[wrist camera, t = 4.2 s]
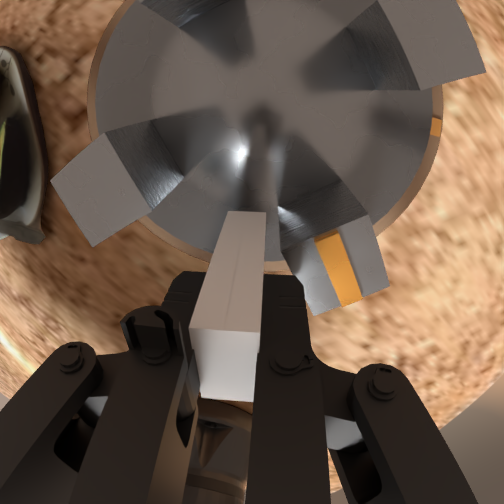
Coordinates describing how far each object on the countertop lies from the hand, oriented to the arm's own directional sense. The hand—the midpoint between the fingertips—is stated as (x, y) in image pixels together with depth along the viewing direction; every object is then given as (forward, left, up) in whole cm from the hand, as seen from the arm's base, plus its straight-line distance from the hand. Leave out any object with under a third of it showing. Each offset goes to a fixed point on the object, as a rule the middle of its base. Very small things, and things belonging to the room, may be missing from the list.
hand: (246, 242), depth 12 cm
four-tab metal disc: (+3, +5, -4) cm, 7 cm away
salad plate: (-18, +15, -7) cm, 24 cm away
